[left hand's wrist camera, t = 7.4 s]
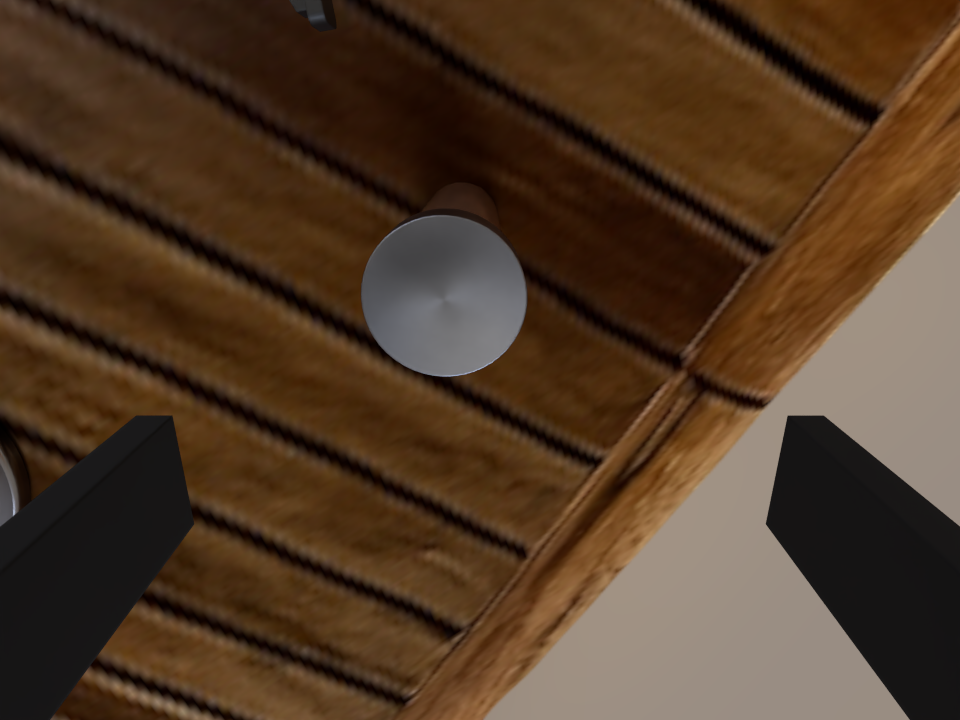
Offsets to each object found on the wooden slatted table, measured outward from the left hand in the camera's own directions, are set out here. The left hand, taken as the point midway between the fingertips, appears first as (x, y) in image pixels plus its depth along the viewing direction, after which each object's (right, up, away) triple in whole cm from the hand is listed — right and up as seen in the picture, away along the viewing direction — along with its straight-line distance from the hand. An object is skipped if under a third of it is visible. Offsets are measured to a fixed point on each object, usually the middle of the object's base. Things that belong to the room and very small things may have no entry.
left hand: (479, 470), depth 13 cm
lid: (-1, +4, +5) cm, 7 cm away
